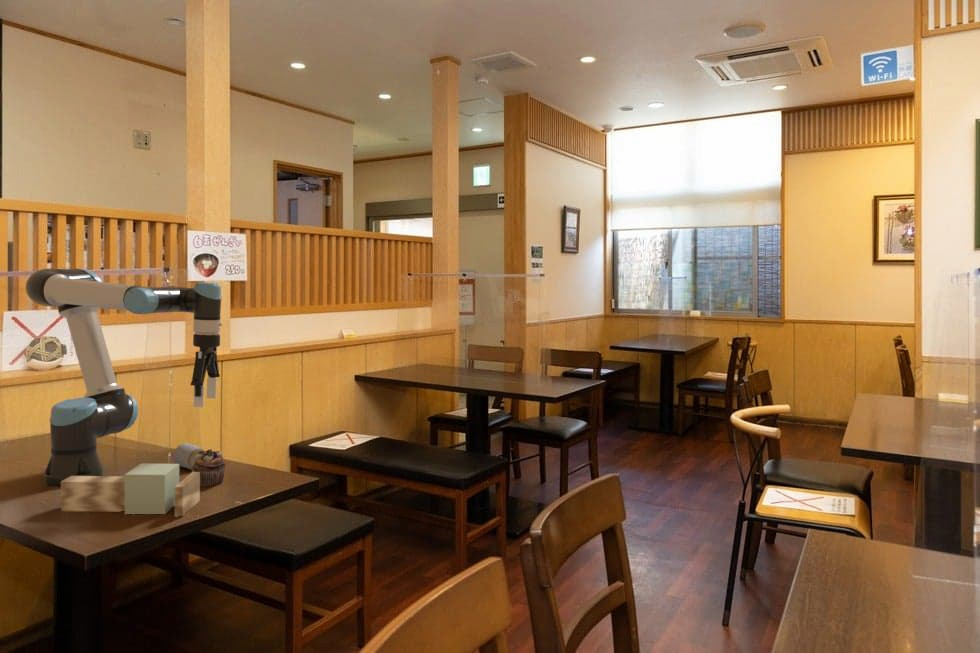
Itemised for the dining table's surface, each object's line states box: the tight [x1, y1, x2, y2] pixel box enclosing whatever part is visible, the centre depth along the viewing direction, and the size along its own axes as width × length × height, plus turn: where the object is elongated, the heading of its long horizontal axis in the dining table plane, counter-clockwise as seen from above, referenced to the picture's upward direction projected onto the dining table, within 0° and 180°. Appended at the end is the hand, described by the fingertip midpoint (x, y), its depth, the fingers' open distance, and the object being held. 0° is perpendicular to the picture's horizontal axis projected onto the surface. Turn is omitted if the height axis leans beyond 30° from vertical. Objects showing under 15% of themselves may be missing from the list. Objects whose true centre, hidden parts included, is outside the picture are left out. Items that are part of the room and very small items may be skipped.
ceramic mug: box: [172, 442, 206, 471], centre depth 215 cm, size 11×8×8 cm
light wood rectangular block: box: [60, 475, 125, 513], centre depth 176 cm, size 16×5×8 cm, turn 95°
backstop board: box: [174, 471, 201, 517], centre depth 178 cm, size 2×13×8 cm, turn 5°
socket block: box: [124, 462, 180, 516], centre depth 178 cm, size 10×10×11 cm
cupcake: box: [190, 449, 227, 487], centre depth 200 cm, size 10×10×10 cm
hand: (205, 402), depth 203 cm, fingers open, 13 cm apart
